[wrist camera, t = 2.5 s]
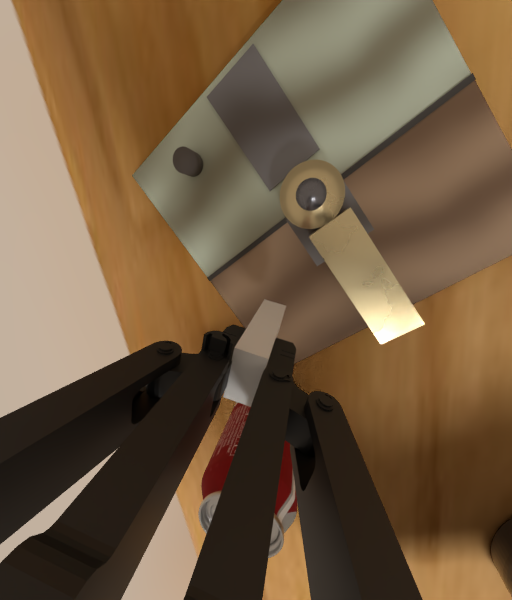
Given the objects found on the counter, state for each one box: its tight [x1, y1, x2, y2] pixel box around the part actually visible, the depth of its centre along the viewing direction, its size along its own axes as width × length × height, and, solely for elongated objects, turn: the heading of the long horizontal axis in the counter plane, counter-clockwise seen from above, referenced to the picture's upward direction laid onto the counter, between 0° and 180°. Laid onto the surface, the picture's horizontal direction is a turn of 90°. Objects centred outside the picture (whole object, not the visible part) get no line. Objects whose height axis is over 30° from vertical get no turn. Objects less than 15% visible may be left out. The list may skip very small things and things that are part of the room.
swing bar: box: [280, 160, 424, 344], centre depth 17 cm, size 13×4×4 cm, turn 37°
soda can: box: [199, 402, 297, 558], centre depth 21 cm, size 7×7×12 cm
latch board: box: [132, 0, 512, 364], centre depth 18 cm, size 22×22×3 cm
